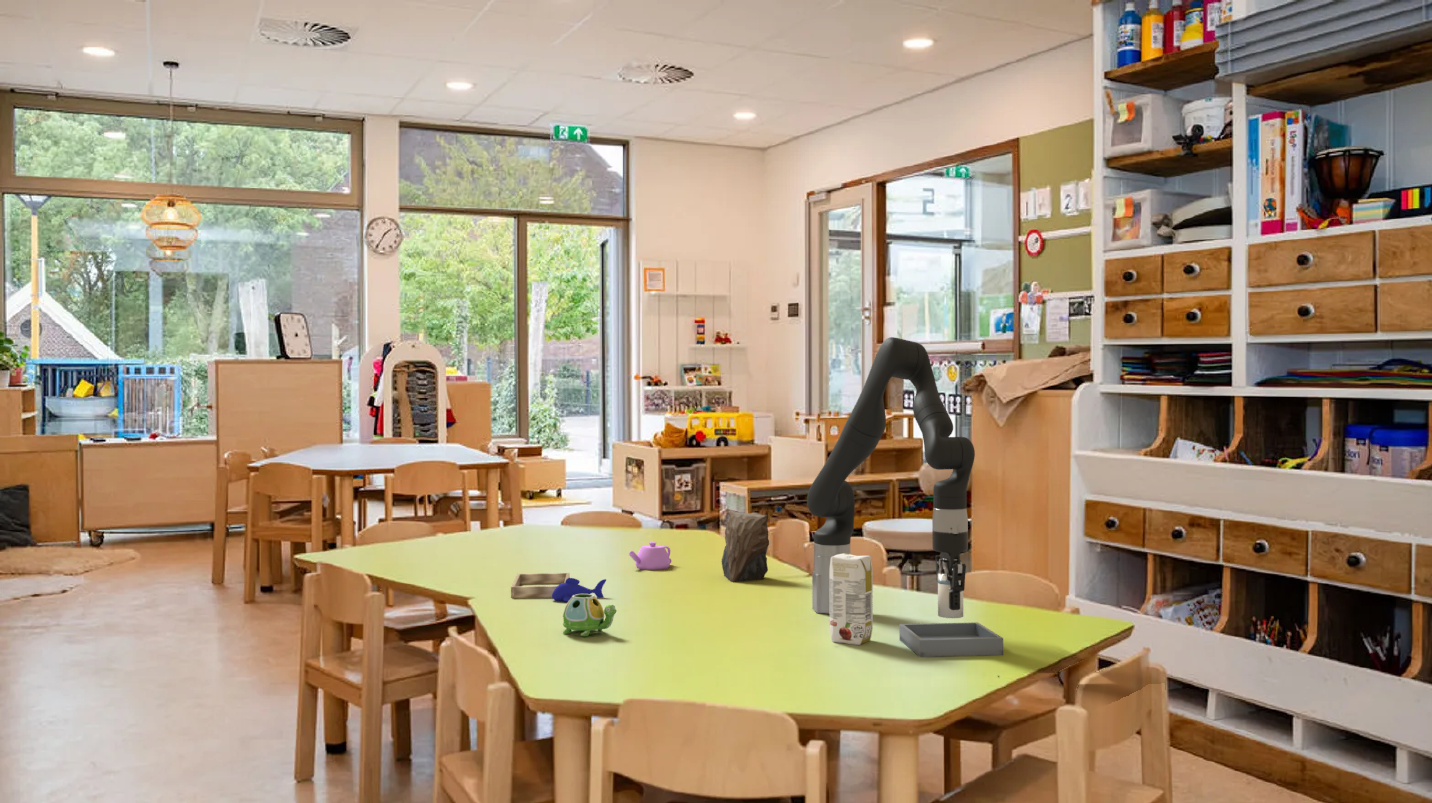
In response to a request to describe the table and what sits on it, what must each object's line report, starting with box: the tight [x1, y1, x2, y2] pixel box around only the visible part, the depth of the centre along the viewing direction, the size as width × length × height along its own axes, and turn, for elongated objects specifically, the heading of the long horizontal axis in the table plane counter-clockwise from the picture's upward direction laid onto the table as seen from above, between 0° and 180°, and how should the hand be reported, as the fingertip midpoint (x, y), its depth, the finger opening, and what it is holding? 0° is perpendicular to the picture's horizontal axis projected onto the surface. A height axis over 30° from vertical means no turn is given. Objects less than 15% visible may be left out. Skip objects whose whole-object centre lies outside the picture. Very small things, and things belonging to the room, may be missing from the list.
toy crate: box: [510, 572, 571, 599], centre depth 302 cm, size 15×22×4 cm
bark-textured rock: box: [721, 511, 770, 583], centre depth 323 cm, size 13×13×20 cm
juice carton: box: [829, 553, 874, 646], centre depth 244 cm, size 8×9×19 cm
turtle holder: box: [562, 593, 617, 637], centre depth 253 cm, size 9×13×9 cm
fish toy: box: [551, 577, 607, 602], centre depth 290 cm, size 15×8×7 cm, turn 115°
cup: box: [937, 573, 964, 619], centre depth 238 cm, size 6×6×9 cm
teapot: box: [628, 541, 672, 571], centre depth 338 cm, size 10×15×9 cm
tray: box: [899, 621, 1004, 658], centre depth 238 cm, size 18×16×4 cm
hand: (950, 606), depth 238 cm, fingers closed on cup, 5 cm apart
